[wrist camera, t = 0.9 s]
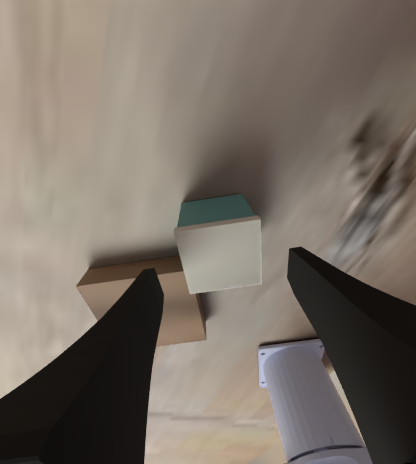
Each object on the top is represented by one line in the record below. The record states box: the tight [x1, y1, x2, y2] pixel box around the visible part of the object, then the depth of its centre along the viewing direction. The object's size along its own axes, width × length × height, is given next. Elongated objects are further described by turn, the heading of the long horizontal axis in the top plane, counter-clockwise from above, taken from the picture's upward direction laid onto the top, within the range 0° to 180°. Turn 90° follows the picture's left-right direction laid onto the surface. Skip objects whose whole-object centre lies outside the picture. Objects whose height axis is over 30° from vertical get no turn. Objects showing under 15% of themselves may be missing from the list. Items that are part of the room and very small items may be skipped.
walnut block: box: [76, 256, 206, 346], centre depth 19 cm, size 9×9×2 cm
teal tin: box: [174, 194, 262, 294], centre depth 14 cm, size 5×5×5 cm
